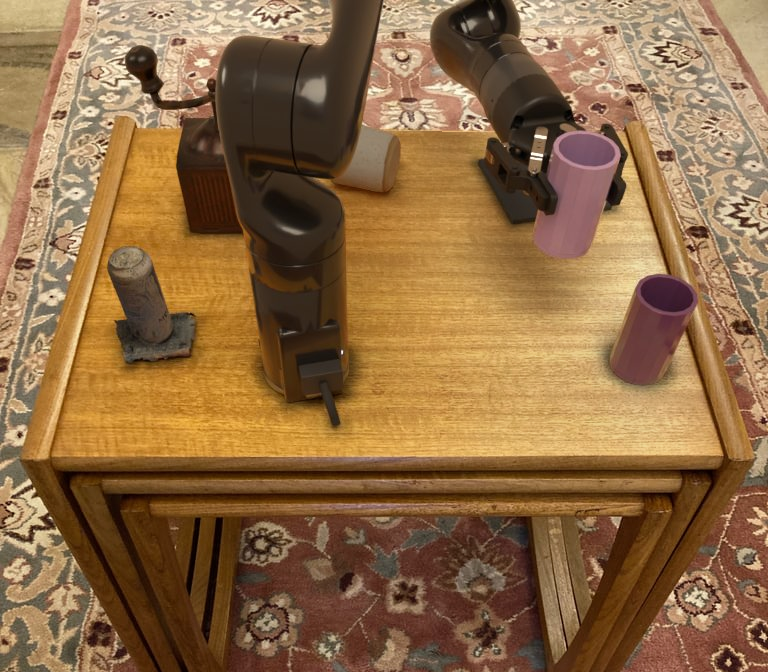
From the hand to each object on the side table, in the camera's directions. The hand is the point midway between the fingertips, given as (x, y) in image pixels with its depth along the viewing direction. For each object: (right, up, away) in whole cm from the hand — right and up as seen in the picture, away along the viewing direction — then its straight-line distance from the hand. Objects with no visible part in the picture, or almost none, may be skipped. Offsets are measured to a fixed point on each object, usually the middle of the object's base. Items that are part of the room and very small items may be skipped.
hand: (586, 202), depth 73 cm
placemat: (+2, +15, +30) cm, 34 cm away
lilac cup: (-1, -1, +6) cm, 6 cm away
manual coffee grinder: (-42, +10, +26) cm, 50 cm away
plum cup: (+9, -13, +12) cm, 20 cm away
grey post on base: (-45, -11, +13) cm, 47 cm away
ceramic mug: (-22, +16, +31) cm, 41 cm away
